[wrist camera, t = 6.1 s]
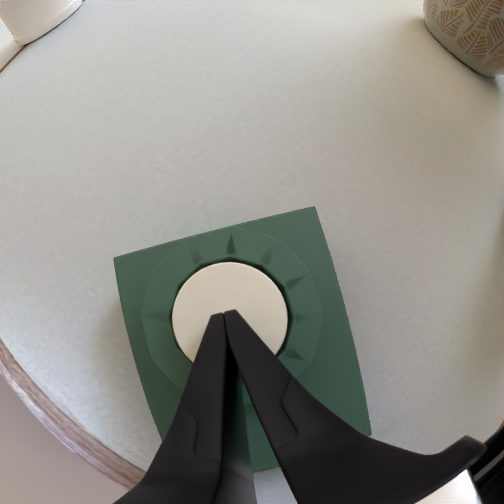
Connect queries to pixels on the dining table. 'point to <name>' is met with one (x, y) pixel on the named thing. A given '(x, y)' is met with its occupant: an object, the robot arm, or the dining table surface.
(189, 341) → the cream push button
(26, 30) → the bottle
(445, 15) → the vase
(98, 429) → the dining table surface
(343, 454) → the robot arm
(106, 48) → the dining table surface
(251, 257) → the green button housing
